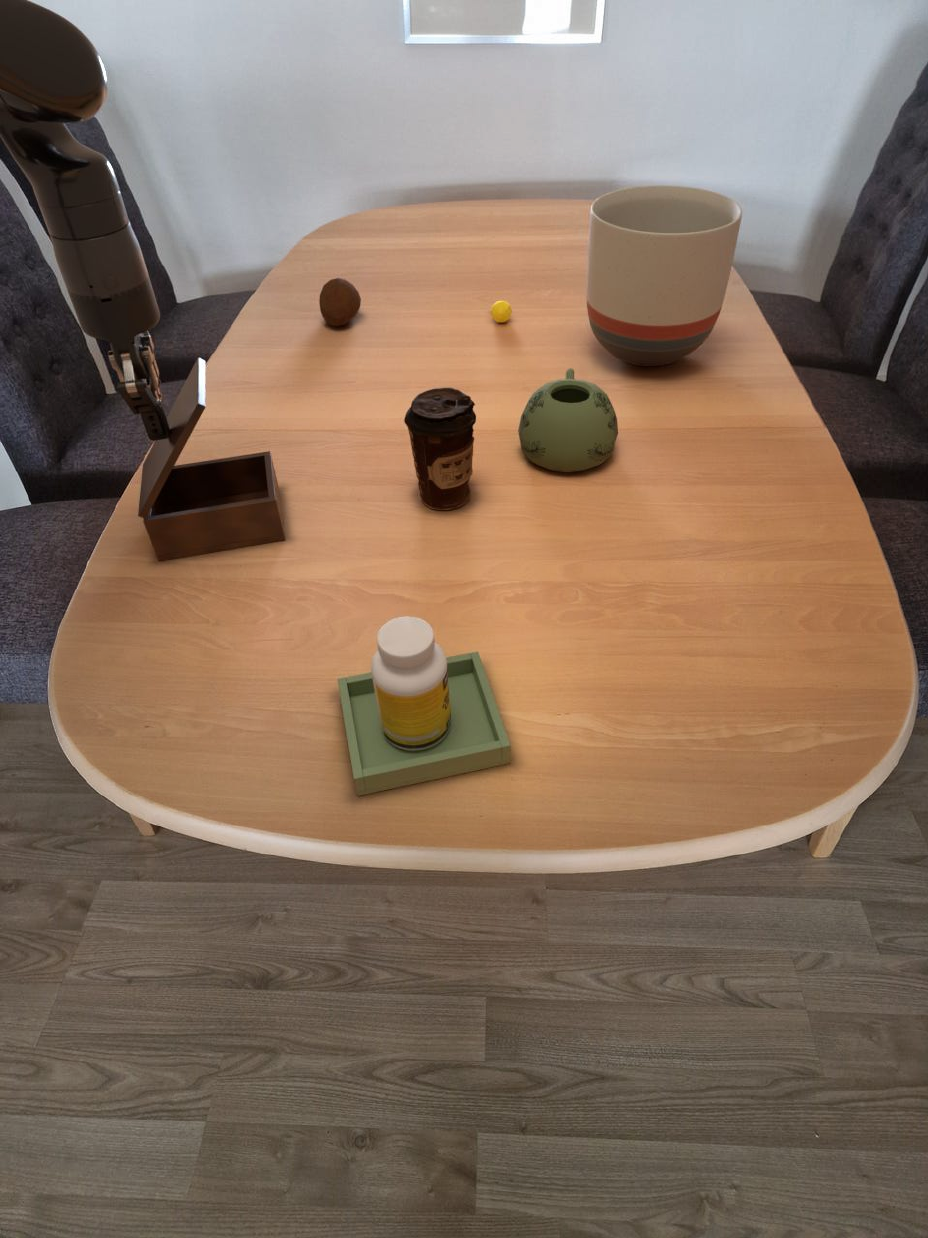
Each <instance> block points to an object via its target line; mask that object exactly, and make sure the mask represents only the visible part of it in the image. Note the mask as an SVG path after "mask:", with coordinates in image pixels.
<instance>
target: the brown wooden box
mask: <svg viewBox="0 0 928 1238" xmlns="http://www.w3.org/2000/svg"><path fill="white" fill-rule="evenodd" d="M282 507H283V506H282V500H281V491H280V487H279V482H278V478H277V473H276V469H275V464H274V461H273V456H272V452H271V450H268V451H263V452H262V451H260V452H256V453H255V452H254V453H249V454H242V455H235V456H229V457H222V458H215V459H208V460H203V461H197V462H196V461H195V462H190V463H183V464H177V465H176V464H175V465H174V467H173V469H172V471H171V472H170V474H169V476H168V478H167V480H166V482H165V484H164V485H163V487H162V489H161V491H160V493H159V495H158V497H157V498H156V500H155V502H154V504H153V506H152V508H151V510H150V511H149V513H148V515H147V517H146V519H144V518H142V519H143V521H142V522H143V524H144V527H145V530H146V532H147V535H148V537H149V540H150V543H151V545H152V548H153V551H154V553H155V556H156V559H157V561H158V562H163V561H170V560H176V559H181V558H187V557H192V556H199V555H205V554H210V553H216V552H222V551H223V552H224V551H228V550H235V549H240V548H246V547H253V546H258V545H265V544H270V543H274V542H275V543H276V542H281V541H282V542H283V541H286V532H285V524H284V517H283V508H282Z"/></svg>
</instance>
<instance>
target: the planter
mask: <svg viewBox="0 0 928 1238" xmlns="http://www.w3.org/2000/svg"><path fill="white" fill-rule="evenodd" d="M742 218H743V209H742V207H741V205H740V204H739V203H738V202H737V201H736V200H734V199H733V198H731V197H728V196H726V195H725V194H721V193H719V192H715V191H713V190H708V189H704V188H698V187H692V186H681V185H664V184H663V185H662V184H661V185H641V186H633V187H626V188H621V189H617V190H613V191H610V192H608V193H605V194H602V195H601V196H599V197H598V198H596V199H595V200H594V201H593V202H592V203H591V206H590V213H589V227H588V241H587V243H588V244H587V258H586V260H587V261H586V293H585V294H586V298H585V299H586V311H587V317H588V321H589V325H590V328H591V331H592V333H593V335H594V337H595V338H596V340H597V341H598V342H599V344H600V345H601V346H602V347H603V348H604V349H605V350H606V351H608V353H610V354H611V355H612V356H614V357H615V358H617V359H619V360H620V361H623V362H625V363H628V364H632V365H636V366H642V367H658V366H664V365H669V364H673V363H675V362H677V361H681V360H682V359H683V358H685V357H687V356H689V355H690V354H692V353H693V352H695V351H696V350H698V348H699V347H700V346H702V345H703V344H704V343H705V341H706V340H707V339H708V338H709V336H710V334H711V333H712V332H713V330H714V328H715V326H716V324H717V321H718V320H719V317H720V315H721V311H722V308H723V304H724V301H725V296H726V293H727V288H728V283H729V280H730V276H731V271H732V266H733V262H734V257H735V253H736V247H737V243H738V238H739V232H740V227H741V222H742Z"/></svg>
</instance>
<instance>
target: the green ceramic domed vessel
mask: <svg viewBox="0 0 928 1238" xmlns="http://www.w3.org/2000/svg"><path fill="white" fill-rule="evenodd" d="M519 420H520V421H519V425H518V428H517V432H518V437H519V444H520V448H521V451H522V454H523V455H524V456H525V457H526V458H527V459H528V460H530V461H531V462H532V463H533V464H536V465H537V466H539V467H542V468H544V469H547V470H549V471H554V472H561V473H575V472H584V471H586V470H589V469H592V468H594V467H598V466H599V465H602V464H603V463H604V462H606V461H607V460H608V459H609V458H610V457H611V456H612V454H613V451H614V448H615V445H616V442H617V437H619V427H618V426H619V425H618V418H617V414H616V411H615V408H614V406H613V404H612V402H611V400H610V398H609V395H608V393H606V392H605V391H604V390H603V389H602V388H600V387H599V386H597V384H595V383H592V382H590V381H587V380H583V379H575V369H573V368H572V367H570V368H567V369H566V371H565V379H564V378H563V379H556V380H552V381H549V382H546V383H545V384H543V385H542V386H540V387H539V388H538V389H536V390H535V391H533V392H532V394H531V396H530V397H529V399H528V401H527V403H526V405H525V407H524V409H523V411H522V414H521V416H520V419H519Z"/></svg>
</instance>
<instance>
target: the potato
mask: <svg viewBox="0 0 928 1238" xmlns="http://www.w3.org/2000/svg"><path fill="white" fill-rule="evenodd" d="M361 302H362V298H361V295H360V292H359V291H358V290H357V288H356V287H355V285H354V284H353V283H351V281H348V280H347V279H345V278H340V277H335V278H331V279H330V280H328V281H327V282H326V283H324V284H323V285H322V288H321V291H320V294H319V301H318V303H319V310H320V314H321V316H322V318H323V319H324V321H325V322H326V323H328V324H329V325H330V326H336V327H338V326H344V325H346V324H348V323H349V322H350V321H352V320H353V319H354V318H355V317H356V316H357V314H358V312H359V310H360V308H361Z"/></svg>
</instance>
